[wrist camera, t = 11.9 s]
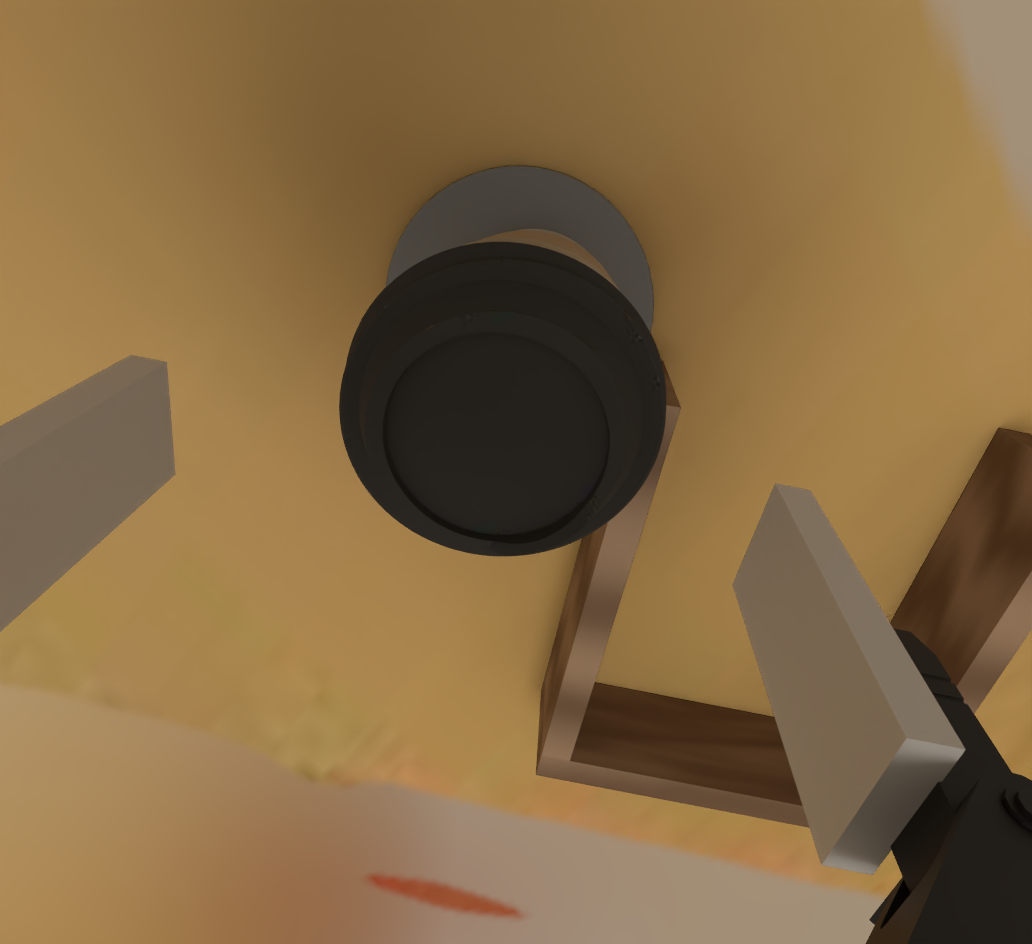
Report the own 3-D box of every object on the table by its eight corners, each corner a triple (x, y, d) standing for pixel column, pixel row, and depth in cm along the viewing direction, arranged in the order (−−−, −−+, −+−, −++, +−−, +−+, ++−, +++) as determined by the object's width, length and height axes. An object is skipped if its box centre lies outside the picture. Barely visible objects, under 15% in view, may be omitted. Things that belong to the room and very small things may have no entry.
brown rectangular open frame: (631, 354, 31) (642, 400, 26) (1030, 434, 32) (1122, 496, 26) (541, 691, 41) (535, 775, 36) (846, 750, 41) (886, 842, 36)
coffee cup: (394, 257, 30) (241, 358, 16) (584, 158, 27) (589, 183, 14) (486, 431, 33) (423, 634, 20) (663, 357, 31) (728, 530, 17)
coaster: (402, 139, 28) (399, 139, 28) (686, 196, 28) (688, 198, 28) (378, 405, 34) (374, 409, 33) (615, 452, 34) (616, 457, 33)
